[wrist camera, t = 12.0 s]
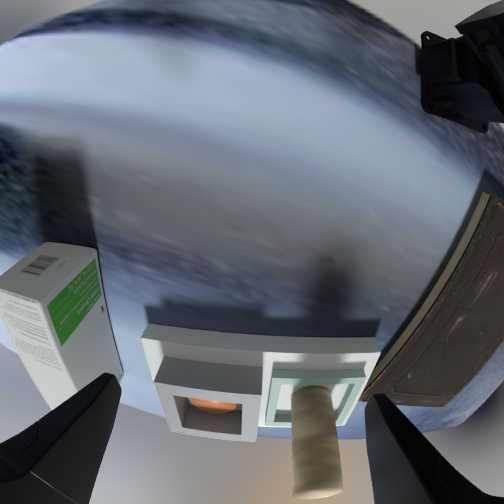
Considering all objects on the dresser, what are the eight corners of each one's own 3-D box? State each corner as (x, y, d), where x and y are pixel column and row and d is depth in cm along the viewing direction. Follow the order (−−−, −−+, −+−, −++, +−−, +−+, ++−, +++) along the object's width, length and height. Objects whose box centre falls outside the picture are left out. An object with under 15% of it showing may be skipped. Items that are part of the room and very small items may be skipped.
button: (238, 381, 23) (237, 390, 22) (237, 407, 24) (236, 415, 24) (188, 375, 23) (185, 383, 22) (193, 402, 25) (191, 410, 24)
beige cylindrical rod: (335, 385, 22) (350, 484, 13) (326, 407, 24) (335, 496, 15) (293, 385, 23) (297, 488, 14) (288, 407, 24) (289, 499, 15)
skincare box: (97, 245, 20) (128, 372, 27) (42, 238, 20) (80, 359, 27) (36, 305, 13) (102, 432, 20) (-18, 286, 13) (51, 411, 20)
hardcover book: (352, 384, 26) (356, 401, 24) (477, 184, 17) (494, 191, 15) (442, 395, 28) (447, 407, 26) (542, 250, 18) (554, 258, 16)
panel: (374, 337, 23) (390, 378, 18) (341, 411, 28) (347, 447, 23) (148, 323, 23) (127, 362, 19) (168, 401, 28) (157, 435, 24)
